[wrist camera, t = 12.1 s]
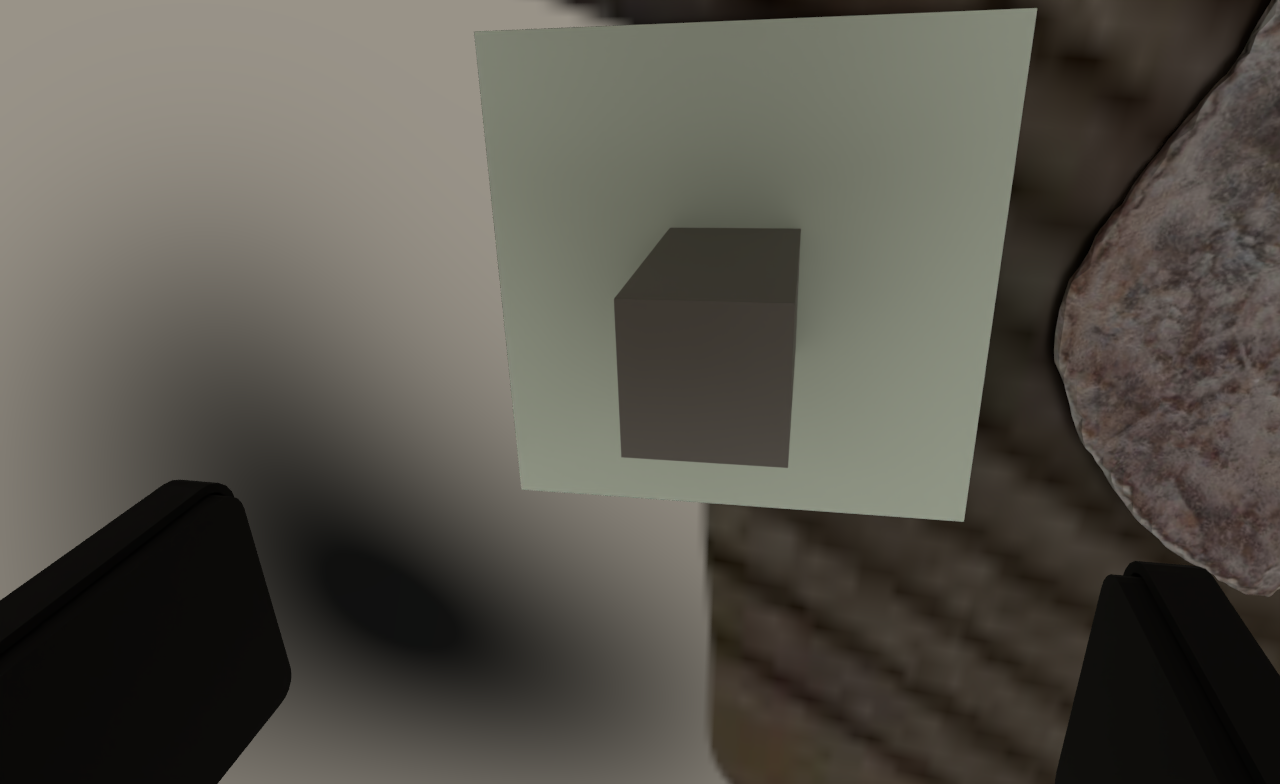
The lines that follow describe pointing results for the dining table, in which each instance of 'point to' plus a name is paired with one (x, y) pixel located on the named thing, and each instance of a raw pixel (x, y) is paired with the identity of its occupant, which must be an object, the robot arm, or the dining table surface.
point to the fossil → (1192, 331)
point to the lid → (754, 253)
